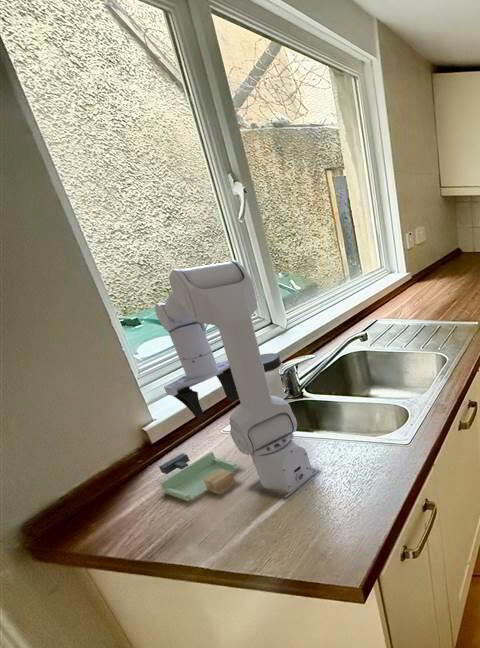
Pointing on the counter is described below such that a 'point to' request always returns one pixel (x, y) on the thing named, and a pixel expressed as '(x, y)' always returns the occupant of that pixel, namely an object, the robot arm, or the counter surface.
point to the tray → (191, 474)
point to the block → (219, 481)
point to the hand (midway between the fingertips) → (216, 407)
